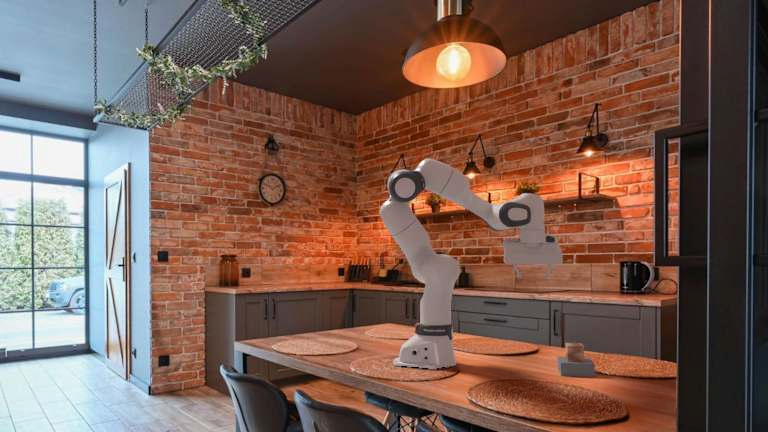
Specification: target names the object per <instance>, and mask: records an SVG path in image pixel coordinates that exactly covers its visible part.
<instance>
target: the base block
mask: <svg viewBox="0 0 768 432" xmlns="http://www.w3.org/2000/svg"><path fill="white" fill-rule="evenodd" d="M584 360H585V362H571V361H567V359H566V356H557V370H558V372H559V373H560V376H562V377H563V376H565V377H585V378H586V377H587V378H596V370H595V368H596V367H595V363H594V361H593V360H592V359H591V358H590V357H587V356H586V357H585V356H584Z"/></svg>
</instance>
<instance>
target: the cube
mask: <svg viewBox="0 0 768 432" xmlns="http://www.w3.org/2000/svg"><path fill="white" fill-rule="evenodd" d="M565 357H566V359H567V361H571V362H585V360H584V357H585V346H584V344H583V343H581V342H565Z"/></svg>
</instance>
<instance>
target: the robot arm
mask: <svg viewBox="0 0 768 432" xmlns="http://www.w3.org/2000/svg"><path fill="white" fill-rule="evenodd" d="M386 185H387V186H386V187H387V200H385V201H384V202H383V203H382V204H381V206H380V207H379V216H380V218H381V221H382V222H383V224H384V226H385V228H386V229H387V231H388V232H389V234H390V236H391V237H392V238H393V240H394V242H395V243H396V245H397V246H398V247H399V248H400V250H401V251H402V253H403V254H404V255H405V258H406V260H407V262H408V264H409V266H410V269H411V274H412V276H413V277H414V279H416V280H417V281H418V282H420V283H423V284H424V290H423V296H422V298H421V299H420V302H419V312H420V313H419V317H420V318H419V319H420V320H419V321H420V322H417V323H415V326H414V334H413V335H412V336H411V337H410V338H409V339H407V340H406V341H405V342H404V343H403V344H402V345H401V347H400V348H399V349H400V350H399V354H398V356H397V357H396V358H394V360H393V361H392V365H393V364H394V365H393V366H394V367H401V366H407V367H406V368H411V367H419V368H418V369H422V368H428V369H427V370H438V369H437V368H439V369H443V368H442V367H445V368H450V366H451V367H454V366H456V365H457V364H458V363H457V360H456V355H455V352H454V351H455V350H454V346H453V345H454V344H453V339H454V327H453V323H452V297H453V291H454V288H455V284H456V282H457V280H458V279H459V277H460V275H461V266H460V263H459V262H458V260H457V259H455V258H454V257H452V256H451V255H448V254H445V253H436V252H435V250H434V248H433V245H431V241H430V235H429V233H428V231H427V230H426V229H425V227H424V226H423V225H422V223H421V221H420V220H419V218H417V216H416V214H414V212H413V210H412V209H411V207H410V202H412V201H413V200H415V199H416V198H417V197H418V196H419V195H420V194H422V192H423V191H424V190H426V191H430V192H432V193H433V194H435V195H437V196H439V197H441V198H443V199H445V200H447V201H450V202H452V203H454V204H456V205H458V206H461V207H462V208H463V209H466V210H467V211H469V212H471V213H472V214H474V215H476V216H477V217H479V218H480V219H481V220H483V222H484V223H485V225H486V226H487V227H488V228H489V229H490V230H492V231H494V232H503V231H506V230H512V229H515V228H518V229H519V231H518V232H519V233H518V234H519V238H506V239H504V240H503V241H502V250H503V251H504V252H503V263H504V264H505V265H513V268H514V270H515V272H516V277H517V278H522V272H521V271H519V269H518V268H519V265H547V268H548V269H547V271H546V272H544V278H550V273H551V271H552V270H553V265H562V264H563V262H564V259H563V258H564V257H563V251H562V247H561V245H560V244H558V243H559V237H557V236H555V235H551V234H547V233H546V229H545V228H546V227H545V223H544V222H545V219H546V217H545V216H546V213H545V205H544V204H545V203H544V200H543V198H542V196H540V195H539V194H537V193H532V192H524V193H521V194H520V195H519V196H518V197H515V198H514V199H511V200H509V201H506V202H502V203H500V204H496V203H495V204H494V203H490V202H488V201H486V200H485V199H483V197H480V196H478V195H477V194H475V193H474V192H473V191H472V189H471V183H470V181H469V178H468V176H466V175H465V174H463V173H462V172H461V171H460V170H458V169H457V168H454V167H453V166H451V165H449V164H447V163H445V162H442V161H439V160H436V159H433V158H429V157H428V158H424V159H423V160H421V161H420V162H419V164H418V165H417V166H416V168H415V169H413V170H409V169H405V168H400V169H399V168H398V169H396V170H394V171H392V172H391V173H390V175H389V176H388V178H387V183H386Z"/></svg>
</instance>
